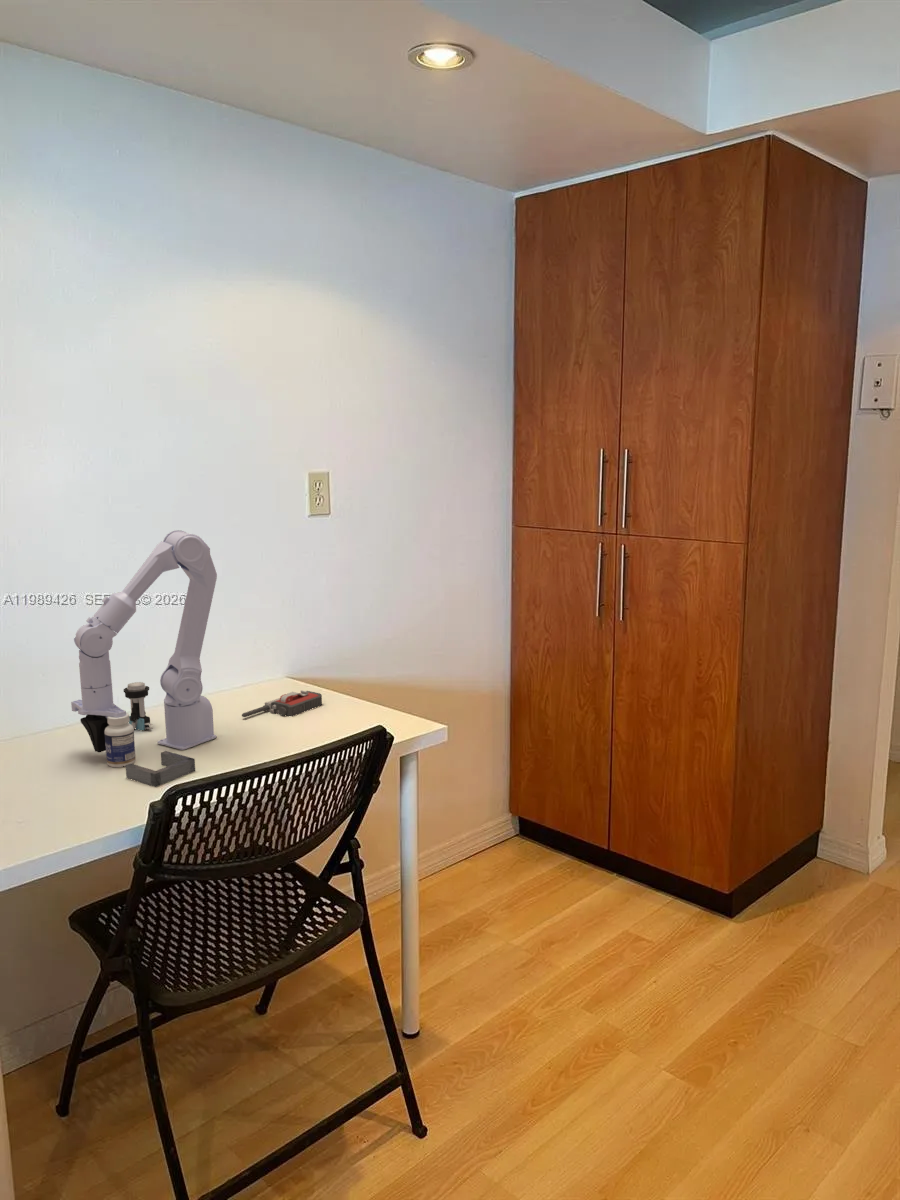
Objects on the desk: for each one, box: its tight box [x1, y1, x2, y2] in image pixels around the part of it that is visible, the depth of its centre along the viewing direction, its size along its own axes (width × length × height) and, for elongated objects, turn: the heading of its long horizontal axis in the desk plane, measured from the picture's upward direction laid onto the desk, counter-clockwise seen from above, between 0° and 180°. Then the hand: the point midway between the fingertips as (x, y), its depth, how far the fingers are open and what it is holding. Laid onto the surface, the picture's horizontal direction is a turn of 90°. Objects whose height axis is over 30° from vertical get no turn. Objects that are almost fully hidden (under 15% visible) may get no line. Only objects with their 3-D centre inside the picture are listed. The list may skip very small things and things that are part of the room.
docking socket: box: [125, 750, 196, 788], centre depth 170 cm, size 9×8×2 cm
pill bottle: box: [105, 712, 136, 768], centre depth 176 cm, size 5×5×10 cm
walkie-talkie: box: [241, 690, 323, 718], centre depth 210 cm, size 9×4×20 cm
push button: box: [123, 681, 153, 731], centre depth 196 cm, size 7×5×10 cm
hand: (101, 750), depth 180 cm, fingers closed
